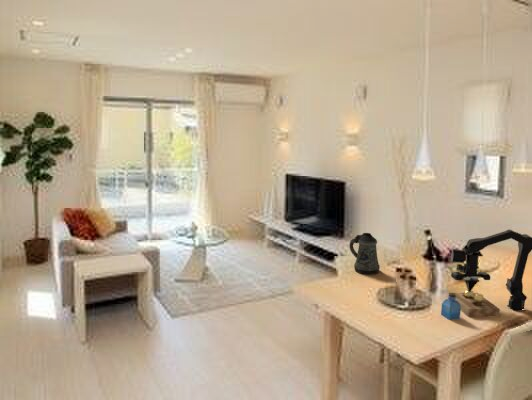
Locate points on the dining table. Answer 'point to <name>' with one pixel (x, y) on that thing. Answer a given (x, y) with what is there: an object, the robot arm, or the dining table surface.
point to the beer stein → (365, 254)
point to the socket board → (476, 307)
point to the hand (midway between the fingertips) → (469, 291)
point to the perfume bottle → (451, 307)
